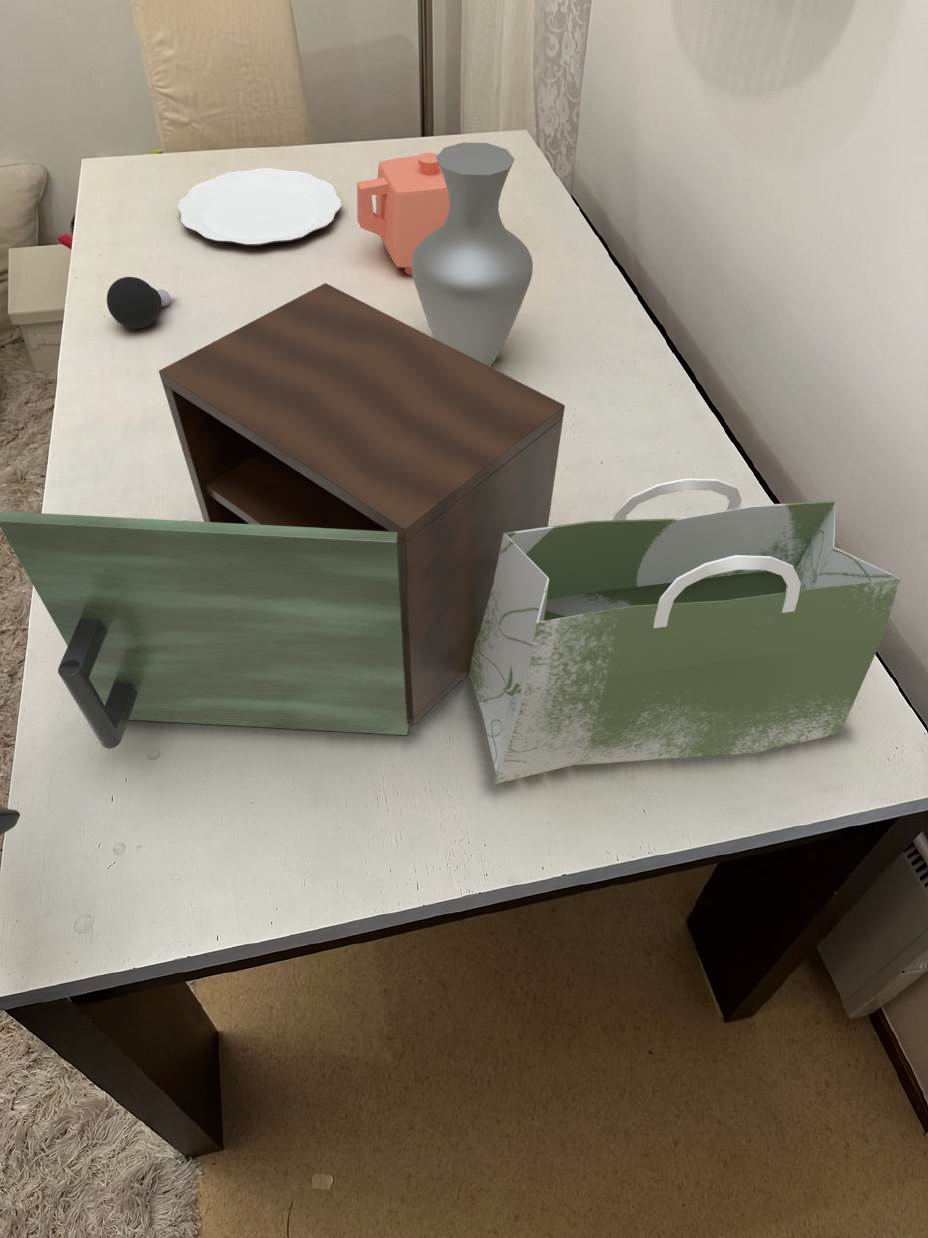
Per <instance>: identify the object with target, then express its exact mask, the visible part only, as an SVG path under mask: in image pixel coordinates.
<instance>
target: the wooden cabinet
mask: <svg viewBox="0 0 928 1238" xmlns="http://www.w3.org/2000/svg"><path fill="white" fill-rule="evenodd" d="M158 374H159V377H160V380H161V384H162V386H163V390H164V394H165V396H166V400H167V403H168V404H167V405H168V407H169V411H170V413H171V418H172V420H173V423H174V427H175V430H176V434H177V437H178V440H179V443H180V447H181V450H182V452H183V458H184V461H185V463H186V467H187V471H188V474H189V477H190V480H191V484H192V487H193V490H194V494H195V497H196V501H197V503H198V507H199V510H200V513H201V517H202V520H203V522H216V523H235V524H254V525H273V526H292V527H311V528H330V529H349V530H368V531H387V532H398V542H399V561H400V580H401V599H402V618H403V636H404V655H405V674H406V693H407V712H408V724H411V725H412V726H415V725H416V724H417V723H418V722H419V721H420V720H422V719H423V717H424V716H426V714H427V713H429V712H430V711H431V710H432V709H433V708H434V707H435V706H436V705H437V704H439V702H440V701H442V700H443V698H445V697H446V696H447V695H448V694H449V693H450V692H451V691H452V690H453V689H454V688H456V686H457V685H458V684H460V682H461V681H462V680H463V679H464V678H466V677H467V676H468V675H470V674H469V673H470V667H471V661H472V655H473V649H474V643H475V640H476V638H477V636H478V634H479V631H480V628H481V624H482V621H483V617H484V614H485V610H486V607H487V603H488V600H489V597H490V593H491V590H492V586H493V582H494V577H495V572H496V568H497V563H498V558H499V553H500V548H501V543H502V538H503V534H504V533H508V532H515V531H522V530H529V529H536V528H544V527H549V521H550V514H551V508H552V499H553V493H554V486H555V479H556V473H557V465H558V459H559V458H558V456H559V449H560V445H561V444H560V443H561V435H562V429H563V421H564V416H565V415H564V414H565V409H566V408H565V407H566V405H565V404H564V403H562V402H560V401H557V400H555V399H554V398H551V397H550V396H547V395H546V394H544V393H542V392H540V391H538V390H536V389H534V388H532V387H530V386H529V385H526V384H525V383H522V382H521V381H518V380H517V379H514V378H513V377H511V376H509V375H507V374H504V373H503V372H501V371H499V370H497V369H495V368H493V367H492V366H491V367H489V366H487V365H485V364H483V363H481V362H479V361H477V360H475V359H473V358H471V357H469V356H467V355H466V354H464V353H462V352H460V351H458V350H456V349H454V348H452V347H450V346H448V345H446V344H444V343H442V342H440V341H438V340H436V339H434V337H433V336H431V335H428V334H426V333H424V332H422V331H421V330H419V329H417V328H415V327H413V326H411V325H408V324H407V323H405V322H403V321H401V320H398V319H397V318H395V317H393V316H391V315H390V314H387V313H385V312H383V311H381V310H380V309H377V308H375V307H373V306H371V304H370V305H369V304H368V303H365V302H364V301H362V300H360V299H358V298H356V297H353V296H352V295H350V294H348V293H347V292H344V291H342V290H341V289H338V288H336V287H334V286H332V285H330V284H328V283H327V282H325V283H322V284H320V285H318V286H317V287H315V288H313V289H311V290H309V291H307V292H305V293H303V294H302V295H300V296H298V297H295V298H294V299H292V300H290V301H288V302H287V303H285V304H282V305H281V306H278V307H277V308H274V309H273V310H271V311H269V312H267V313H265V314H263V315H262V316H260V317H258V318H256V319H254V320H252V321H250V322H248V323H246V324H245V325H243V326H241V327H239V328H237V329H235V330H233V331H232V332H230V333H227V334H226V335H224V336H222V337H220V338H218V339H216V340H215V341H213V342H211V343H209V344H207V345H205V346H203V347H201V348H199V349H197V350H195V351H194V352H191V353H189V354H188V355H186V356H184V357H181V359H178V360H176V361H174V362H172V363H171V364H169V365H167V366H165V367H163V368H162V369H159V370H158Z"/></svg>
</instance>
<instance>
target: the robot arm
mask: <svg viewBox="0 0 928 1238" xmlns="http://www.w3.org/2000/svg"><path fill="white" fill-rule="evenodd" d="M20 817H21V813H20V811H18V810H17V809H11V808H6V807H0V836H2V835H3V834H5V833H7V832H9V831H10V830H11V829H13V828H15V826H16V825H17V824H18V821H19V819H20Z"/></svg>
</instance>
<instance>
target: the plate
mask: <svg viewBox="0 0 928 1238" xmlns="http://www.w3.org/2000/svg"><path fill="white" fill-rule="evenodd" d="M342 207H343V200H342V199H341V198H340V197H339V196H338V193H337V189H336V187H334V186H333V184H332V183H330V182H329V181H325V180H322V179H319V178H317V177H315V176H314V175H312V174H310V173H307V172H304V171H301V170H285V169H280V168H274V167H261V168H254V169H250V170H237V171H236V170H235V171H234V170H233V171H229V172H225V173H222V174H220V175H217V176H215V177H214V178H211V179H208V180H205V181H202V182H198V183H197V184H196V185H194V186H193V187H190V189H189V191H188V192H187V194H186V195H185V196H184V197H183V198H182V199H180V200H179V201H178V204H177V206H176V208H177V210H178V212H179V213H180V223H181V224H182V225H183V226H184V228H186V229H189V230H190V231H193V232H195V233H198V235H200V236H202V237H203V238H204V239H206V240H209V241H213V242H217V243H229V244H236V245H242V246H246V247H247V246H250V247H251V246H253V247H254V246H257V247H258V246H259V247H260V246H264V245H269V244H276V243H285V242H287V243H289V242H294V241H297V240H301V239H303V238H305V237H306V236H308V235H310V234H311V233H313V232H317V231H319V230H323V229H325V228H327V227H328V226H329V225H330V224H332V223H333V222H334V219H335V216H336V214H337V213H338V212H340V210H341V209H342Z"/></svg>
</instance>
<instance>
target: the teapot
mask: <svg viewBox="0 0 928 1238" xmlns="http://www.w3.org/2000/svg"><path fill="white" fill-rule="evenodd" d="M438 155H439V153H435V152H423V153H420V154H419V155H412V156H406V157H398V158H392V159H386V160H381V161H380V162H379V163H378V169H377V176H376V177H377V178H372V179H368V180H361V181H357V182H356V191H357V192H356V201H357V202H356V203H357V204H356V205H357V206H356V207H357V208H356V210H357V212H356V213H357V214H356V215H357V219H356V220H357V222H358V225H359V227H360V228H361V229H363V230H365V231H367V232H370V233H373V234H376V235H377V236H379V237H380V239H381V242H382V243H383V245H384V247H385V250H386V251H387V253H388V255H389V256H390V258H391V260H392V262H393V263H394V265H395V266H396V267H397V268H404V272H405V274H407V275H409V276H413V274H412V257H413V253H414V251H415V249H416V248H417V246H418V244H419V243H420V242H421V241H422V240H423V239H424V238H425V237H426V236H428V235H429V234H430V233H432V232H433V231H435V230H437V229H438V228H440V227H441V226H442V225H443V224H444V222H445V220H446V218H447V215H448V212H449V195H448V190H447V187H446V183H445V180H444V177H443V174H442V171H441V168H440V166H439V163H438V161H437V158H436V157H437V156H438ZM373 196H375V212H374V204H373Z"/></svg>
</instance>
